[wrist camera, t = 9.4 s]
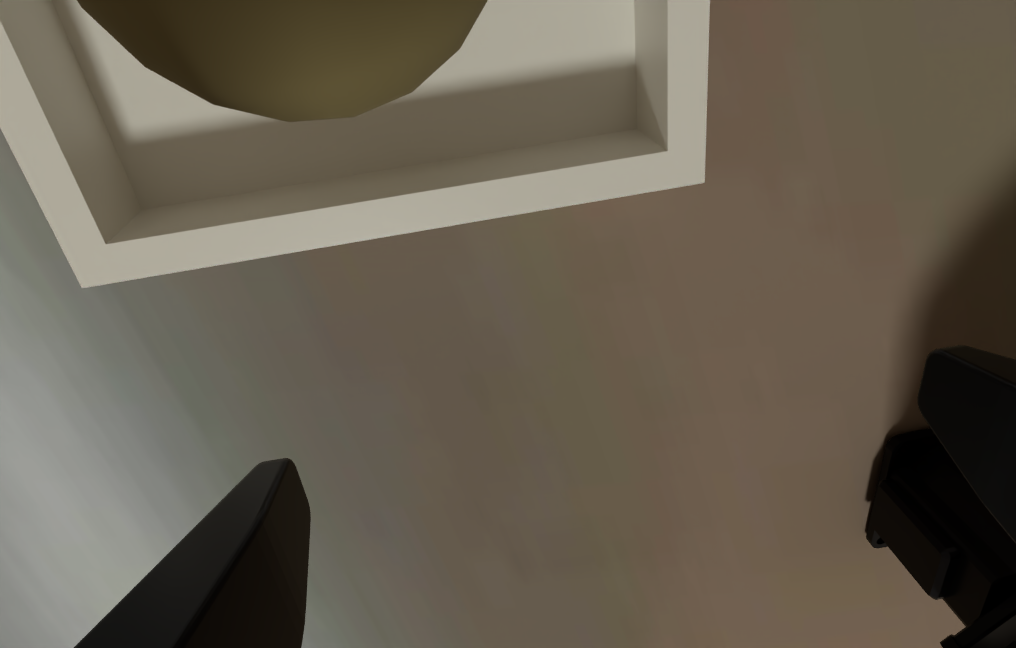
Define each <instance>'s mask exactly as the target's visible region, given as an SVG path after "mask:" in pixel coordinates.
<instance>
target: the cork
mask: <svg viewBox="0 0 1016 648" xmlns="http://www.w3.org/2000/svg"><path fill="white" fill-rule="evenodd" d="M77 1H78V3H79V4H80V6H81V8H82V9H83V10H85V11H86V12H87V13H88V14H89V15H90V16H91V17H92V18H93V19H94V20H95V21H96V22H97V23H98V24H99V25H101V26H102V27H103V28H104V29H105V30H106V31H107V32H108V33H109V34H110V35H111V36H112V37H113V38H114V39H115V40H117V41H118V42H119V43H120V44H121V45H122V46H123V47H124V48H125V49H126V50H127V51H128V52H129V53H130V54H131V55H133V56H134V57H135V58H136V59H137V60H138V61H139V62H140V63H141V64H142V65H143V66H144V67H146V68H147V69H149V70H151V71H153V72H155V73H157V74H158V75H160V76H162V77H164V78H166V79H167V80H169V81H171V82H173V83H175V84H177V85H178V86H180V87H182V88H184V89H186V90H187V91H189V92H191V93H193V94H195V95H197V96H198V97H200V98H202V99H204V100H206V101H207V102H209V103H211V104H213V105H217V106H221V107H225V108H229V109H234V110H238V111H242V112H247V113H251V114H255V115H260V116H264V117H268V118H272V119H277V120H281V121H286V122H298V121H311V120H324V119H337V118H350V117H356V116H358V115H360V114H363V113H365V112H367V111H370V110H372V109H374V108H377V107H379V106H382V105H384V104H386V103H389V102H391V101H393V100H396V99H398V98H400V97H403V96H405V95H407V94H410V93H412V92H413V91H414V90H415V89H416V88H417V87H419V86H420V85H421V84H422V83H423V82H424V81H425V80H426V79H427V78H429V77H430V76H431V75H432V74H433V73H434V72H435V71H436V70H437V69H438V68H440V67H441V66H442V65H443V64H444V63H445V62H446V61H447V60H448V59H449V58H451V57H452V56H453V55H454V54H455V53H456V52H457V51H458V50H459V49H460V48H461V46H462V45H463V43H464V41H465V39H466V38H467V36H468V34H469V32H470V31H471V29H472V27H473V25H474V24H475V22H476V20H477V18H478V17H479V15H480V13H481V11H482V10H483V8H484V6H485V4H486V3H487V1H488V0H77Z"/></svg>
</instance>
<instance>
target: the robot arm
mask: <svg viewBox="0 0 1016 648" xmlns="http://www.w3.org/2000/svg"><path fill="white" fill-rule="evenodd" d="M918 406H919V409H920V412H921V414H922V416H923V417H924V419H925V420H926V422H927V423H928V424H929V426H930V427H931V429H926V430H921V431H916V432H911V433H906V434H901V435H897V436H895V437H893V438H892V439H890V440H889V441H888V443H887V445H886V448H885V453H884V457H883V462H882V466H881V471H880V476H879V480H878V485H877V489H876V494H875V498H874V503H873V508H872V512H871V517H870V521H869V526H868V530H867V535H866V539H867V540H868V541H869V543H870V544H871V545H872V546H873V547H874V548H882V547H887V546H888V547H889V548H890V550H891V551H892V552H893V553H894V554H895V556H896V557H897V558H898V559H899V560H900V562H901V563H902V564H903V565H904V566H905V568H906V569H907V570H908V571H909V573H910V574H911V575H912V576H913V577H914V579H915V580H916V581H917V582H918V583H919V585H920V586H921V587H922V588H923V590H924V591H925V592H926V593H927V594H928V595H929V596H930V597H932V598H933V599H935V600H938V599H943V600H944V601H945V602H946V604H947V605H948V606H949V607H950V608H951V609H952V611H953V612H954V613H955V614H956V615H957V617H958V618H959V619H960V620H961V621H962V623H963V624H964V625H965V626H966V627H965V628H964V629H962V630H961V631H960V632H958V633H957V634H956V635H952V634H951V635H949V636H948V637H947V638H945V639H944V640H942V641H941V642H940V644H941V646H942V647H943V648H1016V360H1014V359H1011V358H1007V357H1004V356H1000V355H997V354H993V353H989V352H986V351H982V350H979V349H975V348H972V347H968V346H962V345H958V346H952V347H946V348H940V349H935V350H934V351H932V352H931V353H930V354H929V355H928V356H927V359H926V362H925V367H924V371H923V375H922V380H921V384H920V388H919V393H918ZM310 520H311V517H310V507H309V502H308V499H307V497H306V494H305V491H304V488H303V485H302V483H301V480H300V477H299V474H298V471H297V469H296V466H295V464H294V463H293V461H292V460H290V459H288V458H283V459H277V460H271V461H265V462H261V463H259V464H258V465H257V466H255V467H254V468H253V469H252V470H251V471H250V472H249V473H248V474H247V475H246V476H245V477H244V478H243V479H242V480H241V481H240V482H239V483H238V484H237V485H236V486H235V487H234V488H233V489H232V490H231V491H230V492H229V493H228V494H227V495H226V496H225V497H224V498H223V499H222V500H221V501H220V502H219V503H218V504H217V505H216V506H215V507H214V508H213V509H212V510H211V511H210V512H209V513H208V514H207V515H206V516H205V517H204V518H203V519H202V520H201V521H200V522H199V523H198V524H197V525H196V526H195V527H194V528H193V529H192V530H191V531H190V532H189V533H188V534H187V535H186V536H185V537H184V538H183V539H182V540H181V541H180V542H179V543H178V544H177V545H176V546H175V547H174V548H173V549H172V550H171V551H170V552H169V553H168V554H167V555H166V556H165V557H164V558H163V559H162V560H161V561H160V562H159V563H158V564H157V565H156V566H155V567H154V568H153V569H152V570H151V571H150V572H149V573H148V574H147V575H146V576H145V577H144V578H143V579H142V580H141V581H140V582H139V583H138V584H137V585H136V586H135V587H134V588H133V589H132V590H131V591H130V592H129V593H128V594H127V595H126V596H125V597H124V598H123V599H122V600H121V601H120V602H119V603H118V604H117V605H116V606H115V607H114V608H113V609H112V610H111V611H110V612H109V613H108V614H107V615H106V616H105V617H104V618H103V619H102V620H101V621H100V622H99V623H98V624H97V625H96V626H95V627H94V628H93V629H92V630H91V631H90V632H89V633H88V634H87V635H86V636H85V637H84V638H83V639H82V640H81V641H80V642H79V643H78V644H77V645H76V646H75V647H74V648H301V646H302V639H303V632H304V625H305V613H306V596H307V577H308V559H309V540H310Z"/></svg>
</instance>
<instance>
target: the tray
mask: <svg viewBox="0 0 1016 648" xmlns="http://www.w3.org/2000/svg"><path fill="white" fill-rule="evenodd" d="M709 11H710V0H488V1H487V3H486V4H485V6H484V8H483V10H482V11H481V13H480V15H479V17H478V18H477V20H476V22H475V24H474V25H473V27H472V29H471V31H470V32H469V34H468V36H467V38H466V39H465V41H464V43H463V45H462V46H461V48H460V49H459V50H458V51H457V52H456V53H455V54H454V55H453V56H452V57H451V58H449V59H448V60H447V61H446V62H445V63H444V64H443V65H442V66H441V67H440V68H438V69H437V70H436V71H435V72H434V73H433V74H432V75H431V76H430V77H429V78H427V79H426V80H425V81H424V82H423V83H422V84H421V85H420V86H419V87H417V88H416V89H415V90H414V91H413V92H412V93H410V94H407V95H405V96H403V97H400V98H398V99H396V100H393V101H391V102H389V103H386V104H384V105H382V106H379V107H377V108H374V109H372V110H370V111H367V112H365V113H363V114H360V115H358V116H356V117H350V118H337V119H324V120H311V121H298V122H286V121H281V120H277V119H272V118H268V117H264V116H260V115H255V114H251V113H247V112H242V111H238V110H234V109H229V108H225V107H221V106H217V105H213V104H211V103H209V102H207V101H206V100H204V99H202V98H200V97H198V96H197V95H195V94H193V93H191V92H189V91H187V90H186V89H184V88H182V87H180V86H178V85H177V84H175V83H173V82H171V81H169V80H167V79H166V78H164V77H162V76H160V75H158V74H157V73H155V72H153V71H151V70H149V69H147V68H146V67H144V66H143V65H142V64H141V63H140V62H139V61H138V60H137V59H136V58H135V57H134V56H133V55H131V54H130V53H129V52H128V51H127V50H126V49H125V48H124V47H123V46H122V45H121V44H120V43H119V42H118V41H117V40H115V39H114V38H113V37H112V36H111V35H110V34H109V33H108V32H107V31H106V30H105V29H104V28H103V27H102V26H101V25H99V24H98V23H97V22H96V21H95V20H94V19H93V18H92V17H91V16H90V15H89V14H88V13H87V12H86V11H85V10H83V9H82V8H81V6H80V4H79V3H78V1H77V0H0V128H1V130H2V132H3V134H4V136H5V138H6V140H7V142H8V144H9V146H10V148H11V150H12V152H13V154H14V156H15V158H16V160H17V162H18V164H19V165H20V167H21V169H22V171H23V173H24V175H25V177H26V179H27V181H28V183H29V185H30V187H31V189H32V191H33V193H34V195H35V197H36V199H37V201H38V203H39V205H40V207H41V209H42V211H43V213H44V215H45V217H46V218H47V220H48V222H49V224H50V226H51V228H52V230H53V232H54V234H55V236H56V238H57V240H58V242H59V244H60V246H61V248H62V250H63V252H64V254H65V256H66V258H67V260H68V262H69V264H70V266H71V268H72V269H73V271H74V273H75V275H76V277H77V279H78V281H79V283H80V285H81V287H82V288H86V287H92V286H98V285H104V284H110V283H116V282H122V281H128V280H133V279H139V278H145V277H151V276H157V275H163V274H169V273H175V272H181V271H187V270H192V269H198V268H204V267H210V266H216V265H222V264H228V263H234V262H240V261H246V260H251V259H257V258H263V257H269V256H275V255H281V254H287V253H293V252H299V251H305V250H311V249H316V248H322V247H328V246H334V245H340V244H346V243H352V242H358V241H364V240H370V239H375V238H381V237H387V236H393V235H399V234H405V233H411V232H417V231H423V230H429V229H435V228H440V227H446V226H452V225H458V224H464V223H470V222H476V221H482V220H488V219H494V218H499V217H505V216H511V215H517V214H523V213H529V212H535V211H541V210H547V209H553V208H559V207H564V206H570V205H576V204H582V203H588V202H594V201H600V200H606V199H612V198H618V197H623V196H629V195H635V194H641V193H647V192H653V191H659V190H665V189H671V188H677V187H682V186H688V185H694V184H700V183H705V152H706V117H707V82H708V46H709Z"/></svg>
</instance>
